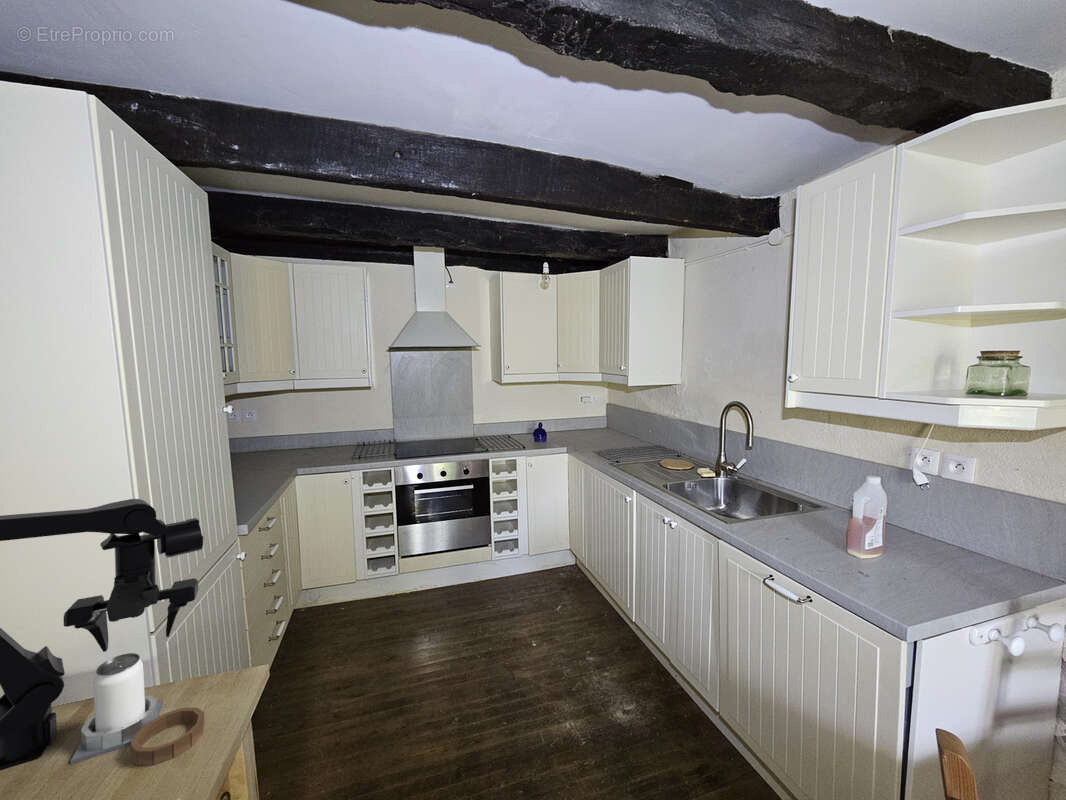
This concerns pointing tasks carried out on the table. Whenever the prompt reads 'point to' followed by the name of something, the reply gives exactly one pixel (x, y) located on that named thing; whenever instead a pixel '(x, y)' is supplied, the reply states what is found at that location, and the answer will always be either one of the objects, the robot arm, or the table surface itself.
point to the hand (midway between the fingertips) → (137, 643)
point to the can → (118, 692)
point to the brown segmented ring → (172, 748)
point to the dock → (113, 733)
